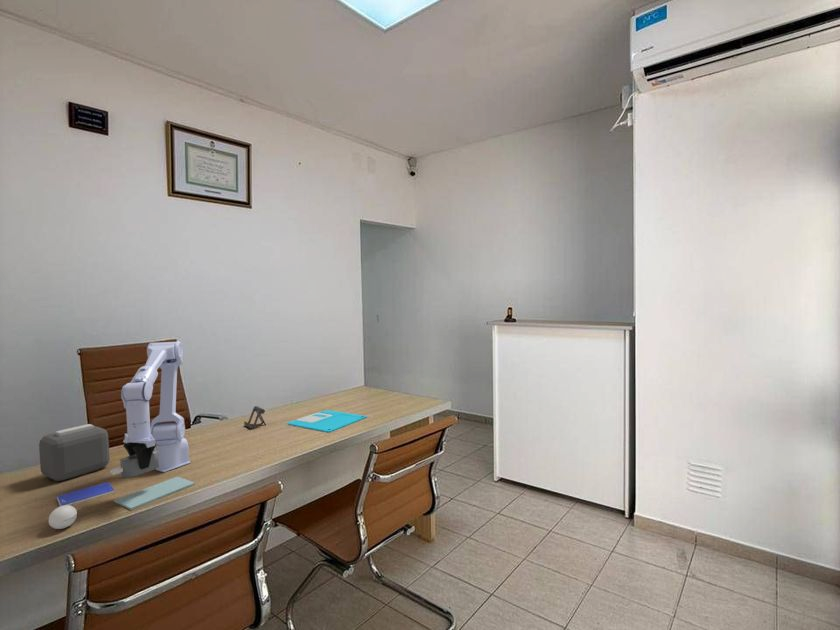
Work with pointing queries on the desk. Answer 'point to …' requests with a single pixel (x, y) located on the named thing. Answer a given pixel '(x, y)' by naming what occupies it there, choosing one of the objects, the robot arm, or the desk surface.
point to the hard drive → (85, 494)
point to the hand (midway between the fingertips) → (140, 466)
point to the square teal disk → (326, 420)
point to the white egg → (62, 517)
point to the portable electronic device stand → (259, 412)
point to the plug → (135, 465)
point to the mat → (153, 493)
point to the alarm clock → (73, 452)
